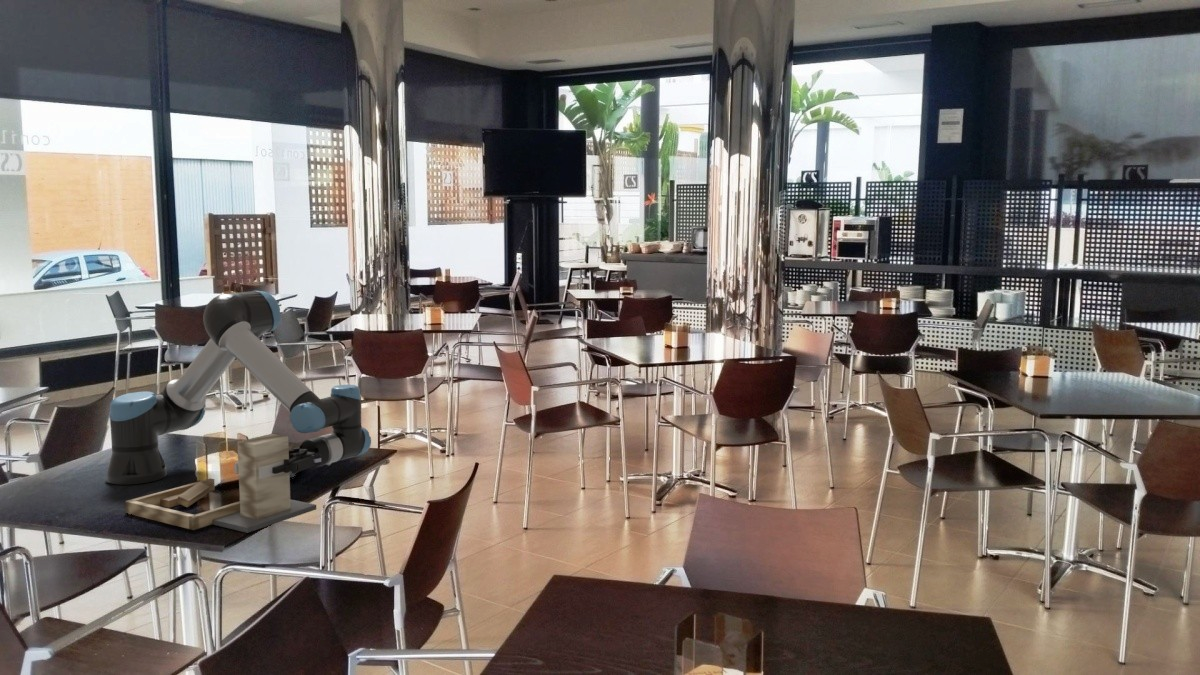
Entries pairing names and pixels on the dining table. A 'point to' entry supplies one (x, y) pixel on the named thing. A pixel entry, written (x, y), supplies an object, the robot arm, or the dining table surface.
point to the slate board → (252, 524)
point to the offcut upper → (193, 494)
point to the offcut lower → (171, 500)
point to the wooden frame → (151, 510)
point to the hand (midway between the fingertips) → (247, 470)
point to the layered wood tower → (270, 491)
